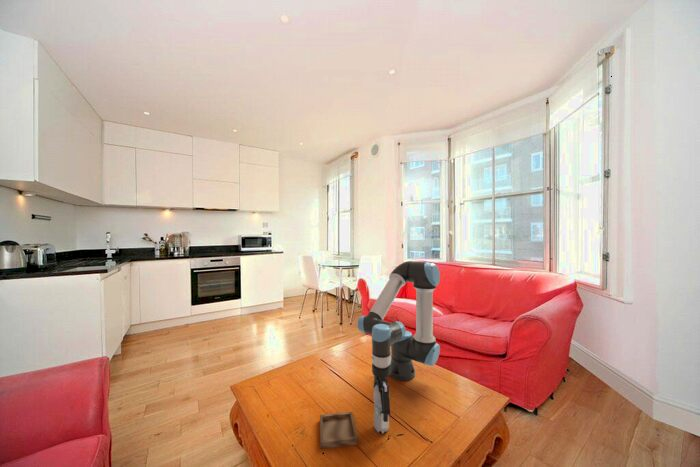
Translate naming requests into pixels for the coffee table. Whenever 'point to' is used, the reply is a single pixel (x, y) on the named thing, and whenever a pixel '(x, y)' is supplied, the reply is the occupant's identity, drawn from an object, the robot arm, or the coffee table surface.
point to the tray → (337, 430)
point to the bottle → (377, 410)
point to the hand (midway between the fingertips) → (381, 417)
